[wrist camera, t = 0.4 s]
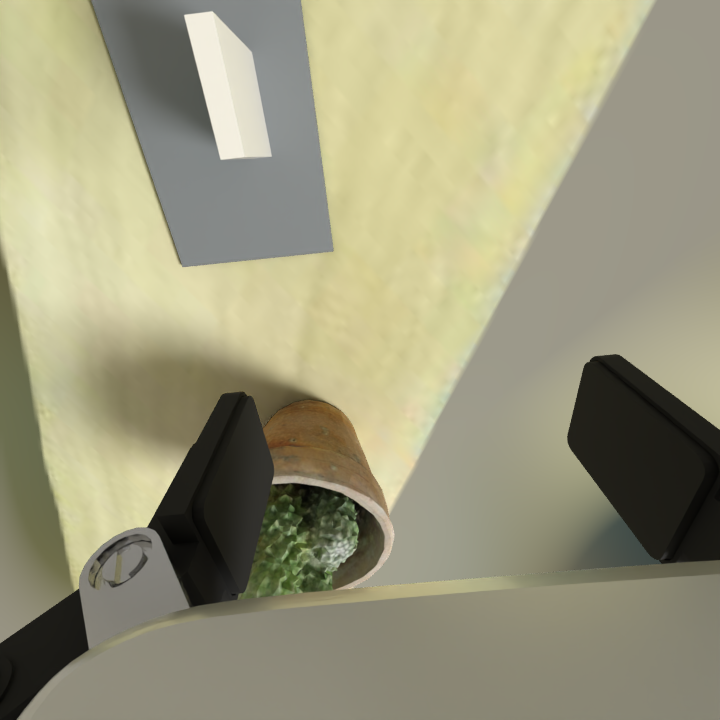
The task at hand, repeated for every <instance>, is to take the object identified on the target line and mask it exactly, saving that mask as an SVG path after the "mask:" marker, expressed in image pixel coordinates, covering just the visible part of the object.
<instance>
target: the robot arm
mask: <svg viewBox="0 0 720 720" xmlns="http://www.w3.org/2000/svg"><path fill="white" fill-rule="evenodd" d="M567 438H568V444H569V447H570V449H571V450H572V452H573V453H574V454H575V456H576V457H577V458H578V460H579V461H580V462H581V464H582V465H583V466H584V468H585V469H586V470H587V472H588V473H589V474H590V476H591V477H592V478H593V480H594V481H595V482H596V484H597V485H598V486H599V488H600V489H601V491H602V492H603V493H604V495H605V496H606V497H607V499H608V500H609V501H610V503H611V504H612V505H613V507H614V508H615V509H616V511H617V512H618V513H619V515H620V516H621V517H622V519H623V520H624V521H625V523H626V524H627V525H628V527H629V528H630V529H631V531H632V532H633V533H634V535H635V536H636V537H637V539H638V540H639V542H640V543H641V544H642V546H643V547H644V548H645V550H646V551H647V552H648V554H649V555H650V556H651V557H653V558H654V559H656V560H659V561H660V562H661V563H662V564H655V565H641V566H628V567H614V568H602V569H587V570H575V571H561V572H548V573H536V574H525V575H511V576H499V577H486V578H473V579H461V580H449V581H436V582H424V583H412V584H400V585H390V586H377V587H365V588H354V589H342V590H331V591H319V592H307V593H298V594H288V595H279V596H269V597H259V598H250V599H240V600H237V599H238V595H239V594H240V593H244V592H245V590H246V588H247V585H248V580H249V576H250V572H251V568H252V564H253V560H254V556H255V551H256V547H257V543H258V539H259V535H260V531H261V527H262V523H263V518H264V514H265V510H266V506H267V502H268V498H269V494H270V489H271V485H272V481H273V477H274V464H273V460H272V457H271V454H270V451H269V448H268V444H267V441H266V438H265V435H264V432H263V428H262V425H261V422H260V419H259V416H258V412H257V409H256V406H255V403H254V400H253V398H252V397H251V396H247V395H246V394H245V392H235V393H225V394H222V396H221V397H220V399H219V401H218V403H217V405H216V407H215V408H214V410H213V412H212V414H211V416H210V418H209V420H208V421H207V423H206V425H205V427H204V429H203V431H202V433H201V434H200V436H199V438H198V440H197V442H196V443H195V444H193V446H192V447H191V448H190V450H189V452H188V454H187V456H186V458H185V459H184V461H183V463H182V465H181V467H180V468H179V470H178V472H177V474H176V476H175V478H174V479H173V481H172V483H171V485H170V487H169V489H168V490H167V492H166V494H165V496H164V498H163V500H162V501H161V503H160V505H159V507H158V509H157V510H156V512H155V514H154V516H153V518H152V520H151V521H150V523H149V525H148V527H147V528H134V529H131V530H127V531H125V532H123V533H121V534H118V535H116V536H114V537H113V538H112V539H110V540H109V541H107V542H106V543H104V544H103V545H102V546H101V547H100V548H99V549H98V550H97V551H96V552H95V553H94V554H93V555H92V556H91V557H90V559H89V560H88V562H87V563H86V564H85V566H84V568H83V570H82V573H81V575H80V579H79V589H78V590H76V591H75V592H74V593H72V594H71V595H69V596H68V597H66V598H65V599H64V600H62V601H61V602H59V603H58V604H56V605H55V606H53V607H52V608H51V609H49V610H48V611H46V612H45V613H43V614H42V615H40V616H39V617H38V618H36V619H35V620H33V621H32V622H31V623H29V624H28V625H26V626H25V627H23V628H22V629H20V630H19V631H17V632H16V633H15V634H13V635H12V636H10V637H9V638H7V639H6V640H4V641H3V642H2V643H0V720H720V430H719V429H718V428H716V427H715V426H714V425H712V424H711V423H710V422H708V421H707V420H706V419H704V418H703V417H702V416H700V415H699V414H698V413H696V412H695V411H694V410H692V409H691V408H690V407H688V406H687V405H686V404H684V403H683V402H681V401H680V400H679V399H678V398H676V397H675V396H674V395H672V394H671V393H670V392H668V391H667V390H665V389H664V388H663V387H662V386H660V385H659V384H658V383H656V382H655V381H654V380H652V379H651V378H650V377H648V376H647V375H645V374H644V373H643V372H642V371H640V370H639V369H638V368H636V367H635V366H633V365H632V364H631V363H630V362H628V361H627V360H626V359H624V358H623V357H622V356H620V355H616V354H614V355H604V356H595V357H593V358H592V359H591V360H590V362H588V363H586V364H585V366H584V368H583V373H582V377H581V381H580V385H579V389H578V394H577V398H576V402H575V406H574V410H573V415H572V419H571V423H570V427H569V432H568V436H567Z"/></svg>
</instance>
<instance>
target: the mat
mask: <svg viewBox="0 0 720 720" xmlns="http://www.w3.org/2000/svg"><path fill="white" fill-rule="evenodd" d="M91 2H92V4H93V7H94V10H95V13H96V16H97V19H98V22H99V25H100V28H101V31H102V34H103V37H104V39H105V42H106V45H107V48H108V51H109V54H110V57H111V60H112V63H113V66H114V69H115V71H116V74H117V77H118V80H119V83H120V86H121V89H122V92H123V95H124V98H125V101H126V103H127V106H128V109H129V112H130V115H131V118H132V121H133V124H134V127H135V130H136V133H137V136H138V138H139V141H140V144H141V147H142V150H143V153H144V156H145V159H146V162H147V165H148V168H149V170H150V173H151V176H152V179H153V182H154V185H155V188H156V191H157V194H158V197H159V200H160V202H161V205H162V208H163V211H164V214H165V217H166V220H167V223H168V226H169V229H170V232H171V235H172V237H173V240H174V243H175V246H176V249H177V252H178V255H179V258H180V261H181V264H182V267H189V266H198V265H208V264H217V263H227V262H237V261H246V260H256V259H265V258H275V257H285V256H294V255H304V254H313V253H323V252H332V251H334V250H333V242H332V235H331V227H330V219H329V212H328V204H327V197H326V189H325V181H324V174H323V166H322V159H321V151H320V143H319V136H318V128H317V120H316V113H315V105H314V98H313V90H312V82H311V75H310V67H309V60H308V52H307V44H306V37H305V29H304V22H303V14H302V6H301V0H91ZM211 11H213V12H214V13H215V14H216V15H217V16H218V17H219V19H220V20H221V21H222V22H223V23H224V24H225V25H226V26H227V27H228V28H229V29H230V30H231V31H232V32H233V33H234V34H235V35H236V36H237V37H238V38H239V39H240V40H241V41H242V42H243V43H244V44H245V45H246V46H247V48H248V49H249V50H250V51H251V52H252V55H253V60H254V65H255V71H256V76H257V81H258V86H259V92H260V97H261V102H262V107H263V113H264V118H265V123H266V128H267V134H268V139H269V144H270V149H271V155H272V157H264V158H255V159H229V160H221V159H220V155H219V151H218V147H217V144H216V140H215V136H214V132H213V128H212V124H211V120H210V116H209V112H208V108H207V104H206V100H205V96H204V92H203V88H202V84H201V80H200V76H199V72H198V68H197V65H196V61H195V57H194V53H193V49H192V45H191V41H190V37H189V33H188V29H187V25H186V21H185V17H184V15H187V14H195V13H203V12H211Z"/></svg>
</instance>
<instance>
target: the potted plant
mask: <svg viewBox="0 0 720 720" xmlns="http://www.w3.org/2000/svg"><path fill="white" fill-rule="evenodd" d="M263 432H264V435H265V438H266V441H267V444H268V448H269V451H270V454H271V457H272V460H273V464H274V477H273V481H272V485H271V489H270V494H269V498H268V502H267V506H266V510H265V514H264V518H263V523H262V527H261V531H260V535H259V539H258V543H257V547H256V551H255V556H254V560H253V564H252V568H251V572H250V576H249V580H248V585H247V588H246V590H245V592H244V593H240V594H239V595H238V599H237V600H240V599H250V598H259V597H269V596H279V595H288V594H298V593H307V592H319V591H331V590H342V589H348V588H351V587H354V586H356V585H358V584H359V583H361V582H363V581H365V580H367V579H369V578H370V577H371V576H372V575H373V574H374V573H375V572H376V571H377V570H378V569H379V568H380V567H381V566H382V565H383V564H384V562H385V561H386V560H387V558H388V556H389V554H390V552H391V548H392V544H393V540H394V530H393V526H392V523H391V521H390V519H389V514H388V509H387V505H386V501H385V498H384V495H383V492H382V489H381V487H380V486H379V484H378V482H377V481H376V479H375V477H374V476H373V474H372V473H371V470H370V468H369V465H368V462H367V460H366V457H365V455H364V453H363V450H362V448H361V445H360V443H359V440H358V438H357V435H356V432H355V430H354V427H353V425H352V424H351V422H350V421H349V419H348V418H347V416H346V415H345V414H344V413H343V412H342V411H340V410H338V409H337V408H335V407H333V406H331V405H330V404H328V403H324V402H321V401H312V400H309V399H308V400H303V401H298V402H294V403H292V404H290V405H288V406H286V407H284V408H282V409H280V410H278V411H277V412H276V413H275V414H274V415H273V416H272V417H271V419H270V420H269V422H268V423H267V424H266V426H265V427H264V428H263Z"/></svg>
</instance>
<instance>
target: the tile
mask: <svg viewBox="0 0 720 720" xmlns="http://www.w3.org/2000/svg"><path fill="white" fill-rule="evenodd" d="M184 17H185V21H186V25H187V29H188V33H189V37H190V41H191V45H192V49H193V53H194V57H195V61H196V65H197V68H198V72H199V76H200V80H201V84H202V88H203V92H204V96H205V100H206V104H207V108H208V112H209V116H210V120H211V124H212V128H213V132H214V136H215V140H216V144H217V147H218V151H219V155H220V159H221V160H229V159H255V158H264V157H272V155H271V149H270V144H269V139H268V134H267V128H266V123H265V118H264V113H263V107H262V102H261V97H260V92H259V86H258V81H257V76H256V71H255V65H254V60H253V55H252V52H251V51H250V50H249V49H248V48H247V46H246V45H245V44H244V43H243V42H242V41H241V40H240V39H239V38H238V37H237V36H236V35H235V34H234V33H233V32H232V31H231V30H230V29H229V28H228V27H227V26H226V25H225V24H224V23H223V22H222V21H221V20H220V19H219V17H218V16H217V15H216V14H215V13H214V12H213V11H211V12H203V13H195V14H187V15H184Z"/></svg>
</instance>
